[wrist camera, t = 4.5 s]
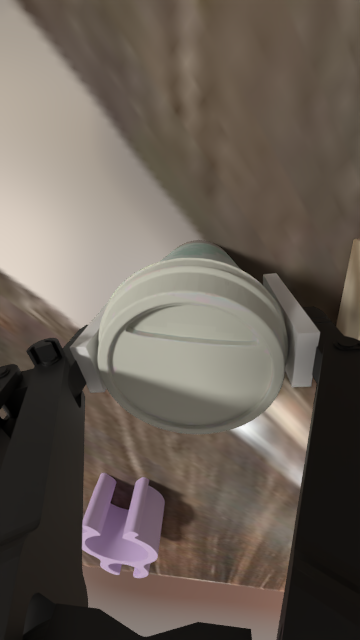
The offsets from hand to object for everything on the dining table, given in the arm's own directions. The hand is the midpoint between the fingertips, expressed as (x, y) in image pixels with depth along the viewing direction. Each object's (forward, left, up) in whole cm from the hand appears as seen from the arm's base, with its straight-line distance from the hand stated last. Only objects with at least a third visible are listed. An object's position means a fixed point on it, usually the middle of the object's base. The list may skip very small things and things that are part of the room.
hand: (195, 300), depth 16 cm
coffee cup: (0, 0, -5) cm, 5 cm away
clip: (+41, -17, -5) cm, 45 cm away
